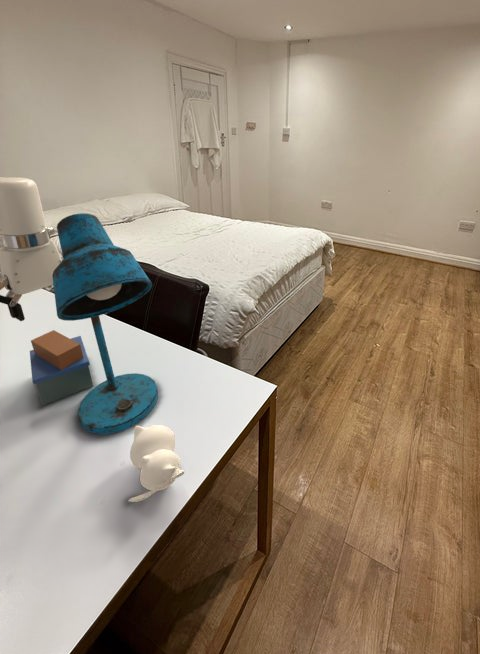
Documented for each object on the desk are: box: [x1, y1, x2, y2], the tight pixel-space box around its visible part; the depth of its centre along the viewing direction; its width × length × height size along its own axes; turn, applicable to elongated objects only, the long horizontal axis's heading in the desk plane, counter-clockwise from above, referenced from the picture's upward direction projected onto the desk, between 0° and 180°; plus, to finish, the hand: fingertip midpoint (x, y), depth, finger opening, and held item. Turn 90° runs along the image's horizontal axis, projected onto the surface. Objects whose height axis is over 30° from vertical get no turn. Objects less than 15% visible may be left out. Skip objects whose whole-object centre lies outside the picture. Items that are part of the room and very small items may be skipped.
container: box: [29, 335, 94, 406], centre depth 79 cm, size 13×11×8 cm
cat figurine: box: [128, 424, 185, 503], centre depth 59 cm, size 9×11×12 cm
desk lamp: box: [52, 212, 159, 435], centre depth 65 cm, size 16×22×45 cm
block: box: [30, 329, 83, 370], centre depth 77 cm, size 11×5×4 cm, turn 63°
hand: (44, 309), depth 73 cm, fingers open, 9 cm apart
